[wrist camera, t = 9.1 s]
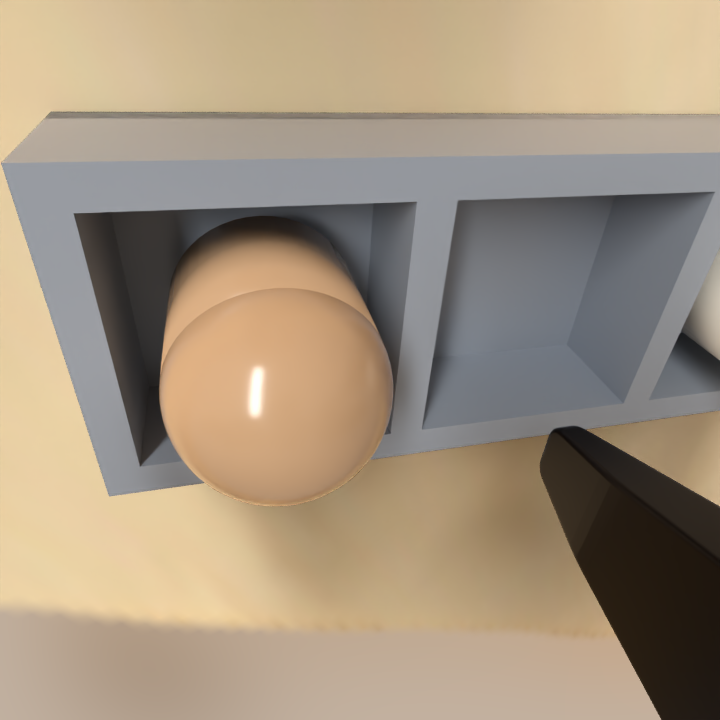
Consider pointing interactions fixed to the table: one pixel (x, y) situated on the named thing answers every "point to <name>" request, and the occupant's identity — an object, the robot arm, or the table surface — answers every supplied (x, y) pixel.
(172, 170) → the egg tray
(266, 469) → the brown egg
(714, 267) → the cream egg
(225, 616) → the table surface
